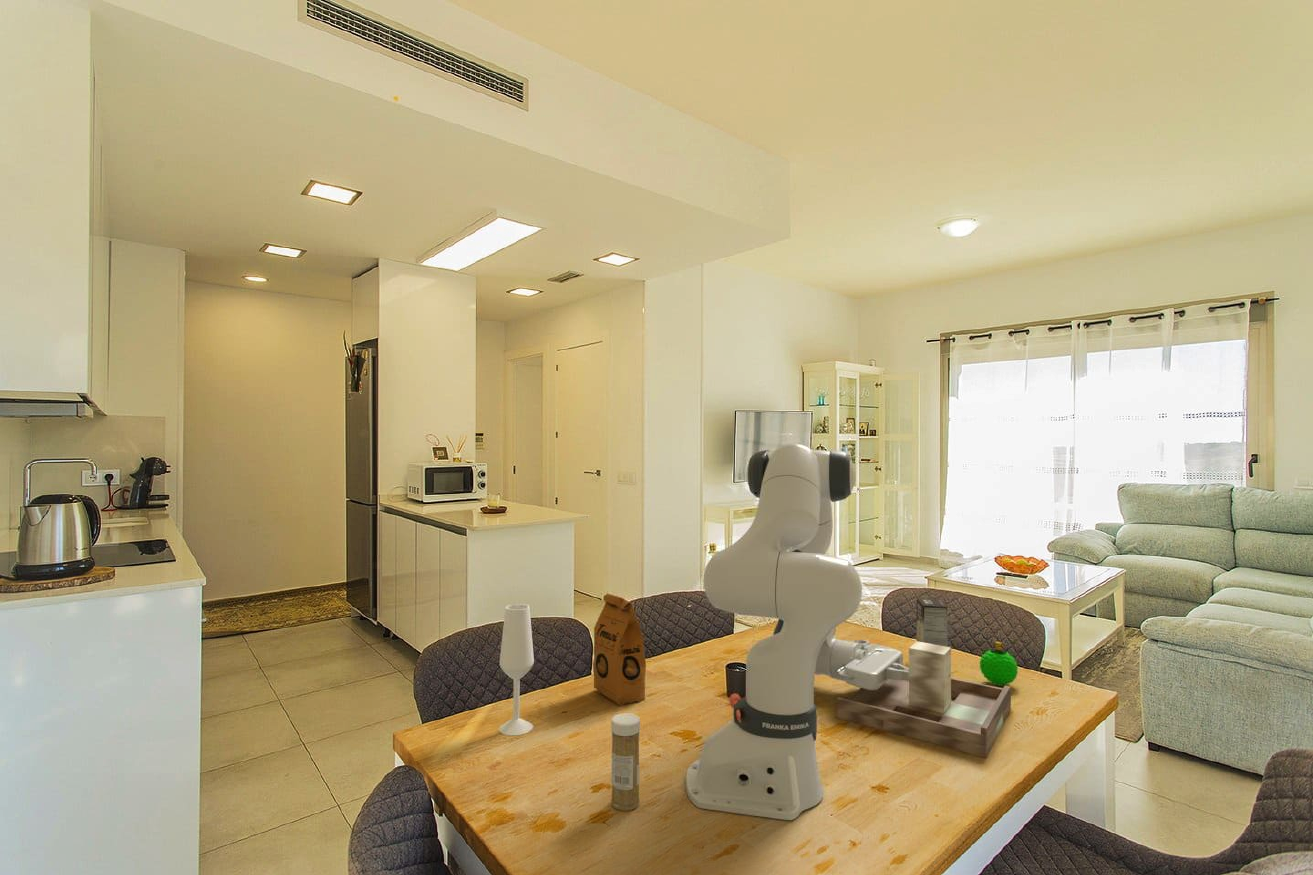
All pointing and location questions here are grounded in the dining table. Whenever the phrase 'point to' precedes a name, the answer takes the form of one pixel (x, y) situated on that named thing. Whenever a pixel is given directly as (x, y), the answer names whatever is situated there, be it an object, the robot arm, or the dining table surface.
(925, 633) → the coffee box
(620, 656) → the coffee package
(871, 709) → the tray
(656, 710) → the dining table surface
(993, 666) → the ornament
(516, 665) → the champagne flute
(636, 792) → the spice jar
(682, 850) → the dining table surface
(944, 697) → the birch block
